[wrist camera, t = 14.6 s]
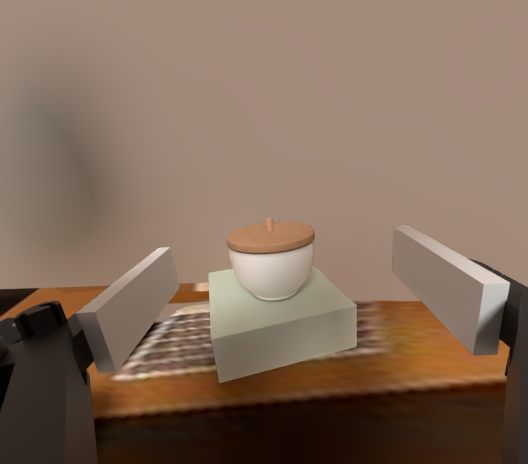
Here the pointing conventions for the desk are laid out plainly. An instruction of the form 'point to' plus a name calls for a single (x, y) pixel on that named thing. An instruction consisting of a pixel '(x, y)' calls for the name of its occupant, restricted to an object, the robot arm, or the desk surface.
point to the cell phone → (9, 331)
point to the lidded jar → (272, 257)
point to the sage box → (276, 325)
